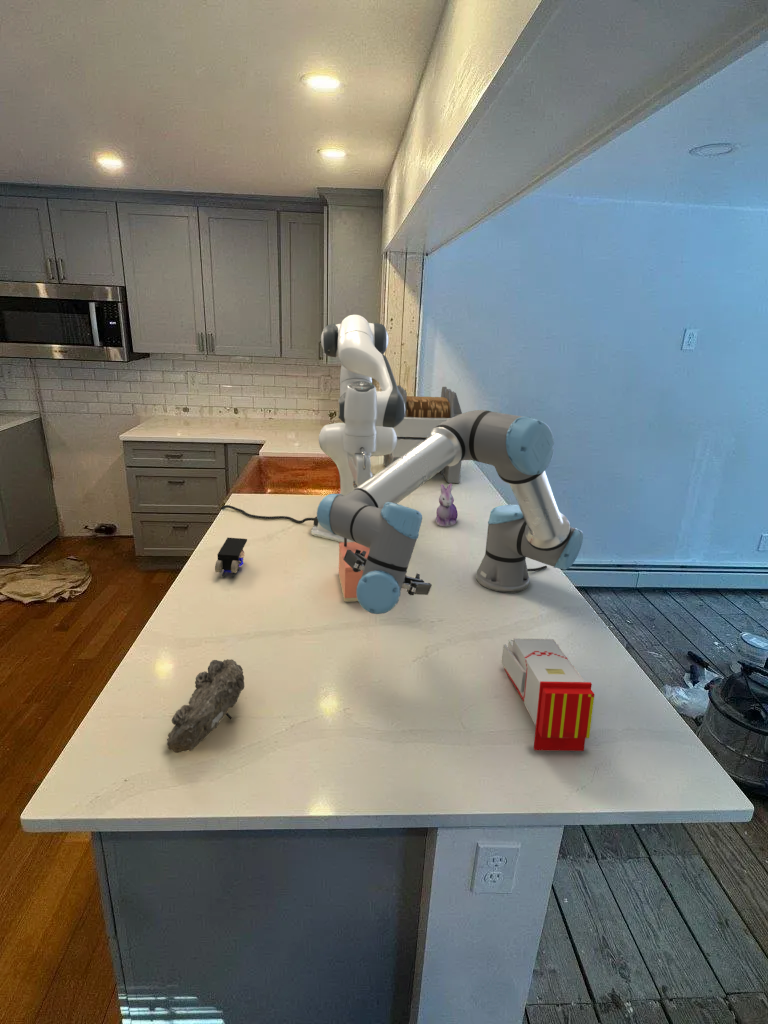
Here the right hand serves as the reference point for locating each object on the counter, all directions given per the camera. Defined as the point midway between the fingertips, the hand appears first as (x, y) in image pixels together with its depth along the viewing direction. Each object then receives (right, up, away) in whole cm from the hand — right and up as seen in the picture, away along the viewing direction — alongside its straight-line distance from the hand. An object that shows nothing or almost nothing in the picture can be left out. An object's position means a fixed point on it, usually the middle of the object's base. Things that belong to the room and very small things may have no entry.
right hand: (389, 567), depth 133 cm
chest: (-9, -8, +28) cm, 30 cm away
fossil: (-34, -26, -25) cm, 50 cm away
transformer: (+16, +32, +142) cm, 146 cm away
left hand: (-8, +19, +24) cm, 32 cm away
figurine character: (-46, -4, +35) cm, 58 cm away
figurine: (+22, +9, +79) cm, 83 cm away
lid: (-8, 0, +25) cm, 26 cm away
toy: (+30, -26, -17) cm, 43 cm away
